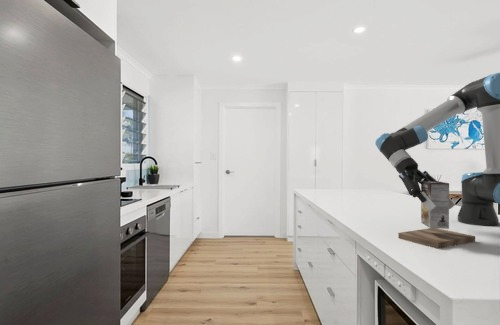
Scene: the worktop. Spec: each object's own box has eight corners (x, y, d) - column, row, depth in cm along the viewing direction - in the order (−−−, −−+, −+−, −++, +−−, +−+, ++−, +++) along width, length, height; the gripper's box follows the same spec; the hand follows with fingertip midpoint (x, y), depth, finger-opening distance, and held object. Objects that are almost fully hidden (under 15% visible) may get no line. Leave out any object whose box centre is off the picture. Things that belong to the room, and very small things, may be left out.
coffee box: (420, 222, 112) (420, 181, 112) (438, 223, 111) (438, 181, 111) (430, 228, 103) (429, 182, 103) (450, 229, 102) (450, 182, 102)
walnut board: (434, 232, 117) (433, 227, 117) (475, 241, 104) (475, 236, 104) (398, 238, 110) (398, 232, 110) (438, 248, 96) (437, 242, 96)
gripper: (416, 169, 125) (455, 211, 111) (377, 170, 116) (414, 216, 102) (428, 156, 120) (470, 199, 106) (388, 156, 111) (428, 203, 97)
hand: (442, 207), depth 104 cm, fingers closed on coffee box, 10 cm apart
